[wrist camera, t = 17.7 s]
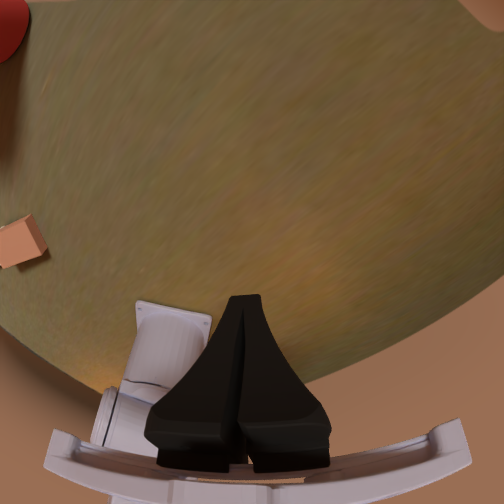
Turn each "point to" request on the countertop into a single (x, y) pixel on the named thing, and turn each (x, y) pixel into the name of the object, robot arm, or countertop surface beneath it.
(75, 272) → the countertop surface
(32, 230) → the rust domino
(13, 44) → the beer can
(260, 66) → the countertop surface
